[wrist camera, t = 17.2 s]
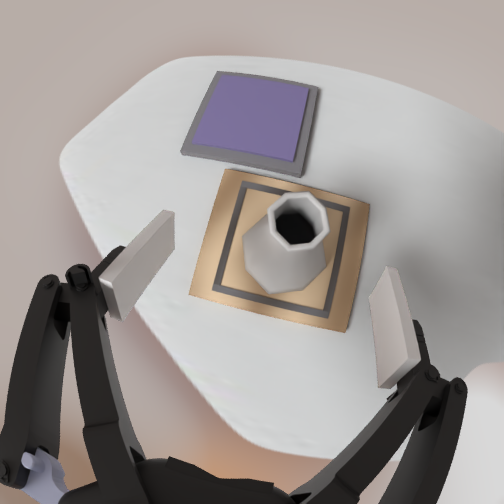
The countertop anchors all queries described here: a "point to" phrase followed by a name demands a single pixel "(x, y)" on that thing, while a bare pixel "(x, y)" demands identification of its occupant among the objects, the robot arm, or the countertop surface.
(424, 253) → the countertop surface
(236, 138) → the ink pad
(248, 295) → the marked board
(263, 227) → the flask
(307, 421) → the countertop surface
